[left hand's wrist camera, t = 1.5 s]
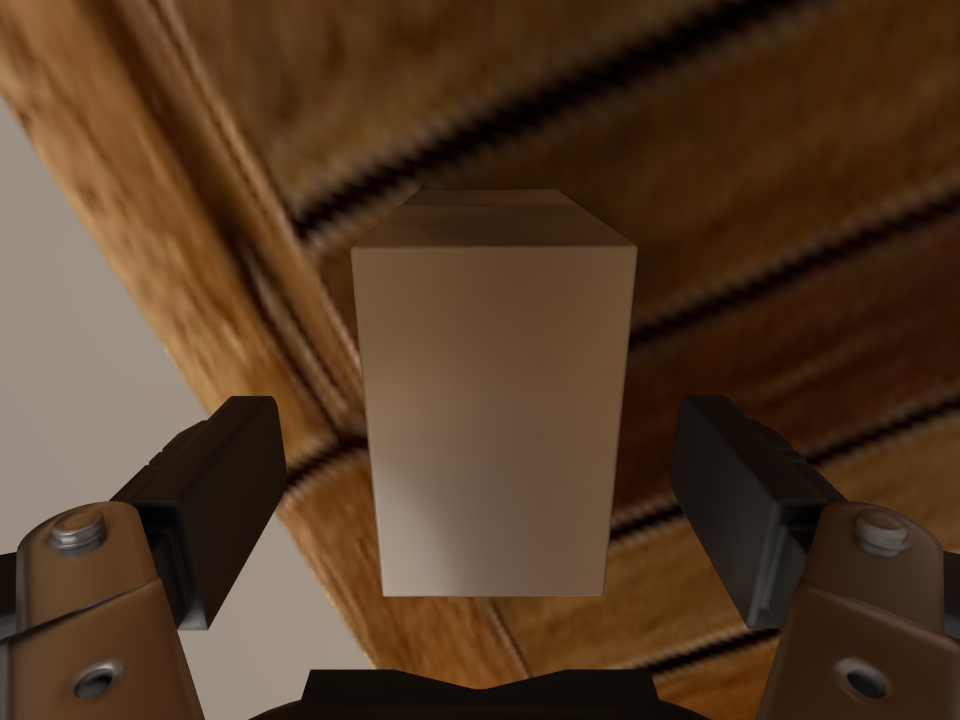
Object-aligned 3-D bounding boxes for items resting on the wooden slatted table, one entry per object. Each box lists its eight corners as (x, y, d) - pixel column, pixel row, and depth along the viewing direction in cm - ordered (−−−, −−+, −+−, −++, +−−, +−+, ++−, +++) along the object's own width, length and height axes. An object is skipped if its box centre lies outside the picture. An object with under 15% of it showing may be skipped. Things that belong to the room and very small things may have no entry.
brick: (426, 390, 22) (381, 598, 12) (416, 190, 19) (348, 246, 9) (548, 390, 21) (604, 597, 12) (557, 188, 19) (639, 245, 9)
